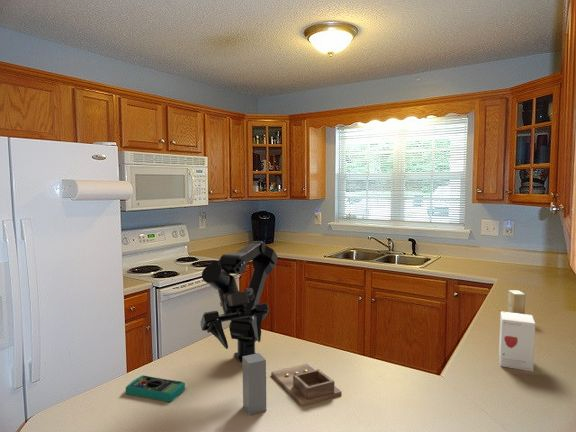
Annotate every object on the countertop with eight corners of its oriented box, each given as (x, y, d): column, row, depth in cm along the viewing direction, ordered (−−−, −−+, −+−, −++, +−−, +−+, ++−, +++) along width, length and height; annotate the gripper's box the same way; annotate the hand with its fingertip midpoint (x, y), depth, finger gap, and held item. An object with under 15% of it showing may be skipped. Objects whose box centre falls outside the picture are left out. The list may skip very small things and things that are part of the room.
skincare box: (506, 318, 168) (507, 289, 168) (518, 318, 168) (519, 290, 167) (513, 323, 162) (514, 293, 161) (524, 324, 162) (526, 294, 161)
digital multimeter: (141, 383, 116) (140, 373, 116) (186, 390, 111) (186, 380, 111) (123, 395, 109) (123, 385, 109) (170, 404, 104) (170, 393, 104)
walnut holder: (271, 375, 119) (271, 361, 119) (306, 366, 125) (306, 354, 124) (301, 406, 102) (301, 390, 102) (341, 395, 108) (341, 380, 107)
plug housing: (243, 406, 102) (242, 356, 102) (259, 401, 104) (259, 353, 104) (249, 415, 98) (248, 363, 98) (266, 410, 100) (265, 359, 100)
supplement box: (499, 366, 124) (501, 318, 123) (498, 355, 132) (499, 310, 131) (534, 372, 120) (536, 323, 119) (530, 360, 128) (532, 314, 127)
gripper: (201, 283, 107) (215, 338, 98) (266, 275, 116) (284, 324, 107) (195, 304, 115) (207, 356, 106) (256, 295, 123) (272, 342, 115)
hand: (243, 344), depth 108 cm, fingers open, 9 cm apart
